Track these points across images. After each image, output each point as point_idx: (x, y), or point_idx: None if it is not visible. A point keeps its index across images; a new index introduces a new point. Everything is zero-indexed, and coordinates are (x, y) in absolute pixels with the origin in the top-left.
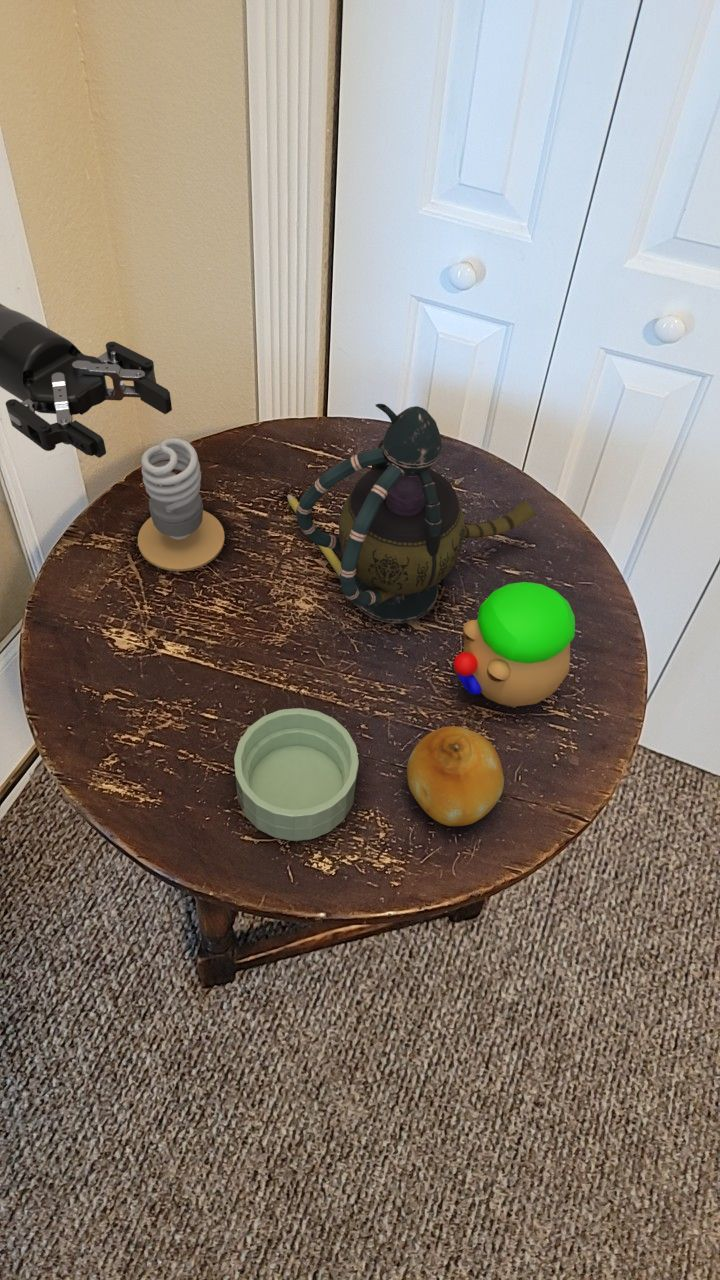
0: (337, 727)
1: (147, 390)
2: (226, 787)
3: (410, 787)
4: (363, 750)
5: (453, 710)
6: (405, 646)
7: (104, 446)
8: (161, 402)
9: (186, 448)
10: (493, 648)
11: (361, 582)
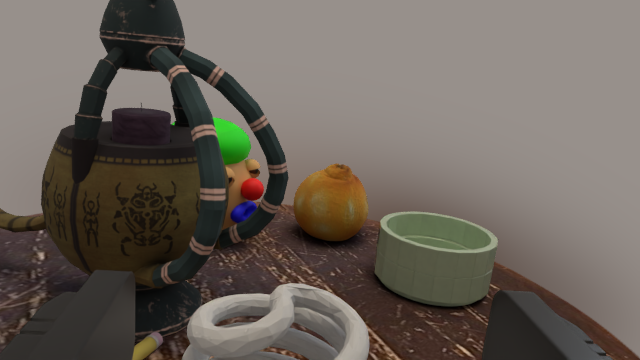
0: (385, 224)
1: (95, 349)
2: (489, 310)
3: (364, 217)
4: (352, 268)
5: (258, 246)
6: (218, 279)
7: (490, 325)
8: (128, 316)
9: (215, 316)
10: (248, 151)
11: (168, 305)
